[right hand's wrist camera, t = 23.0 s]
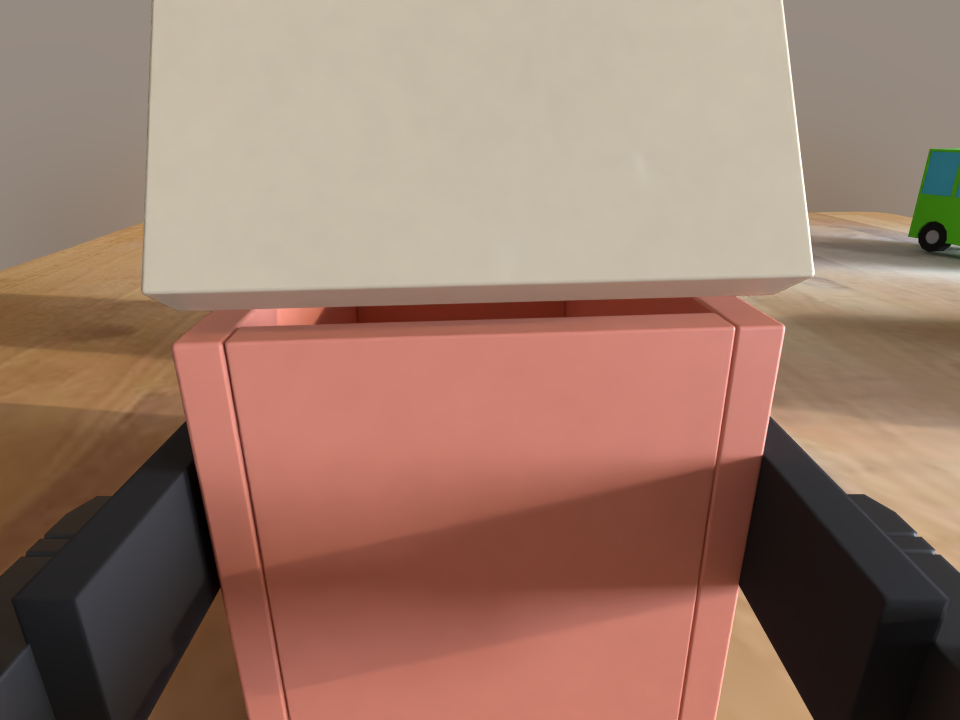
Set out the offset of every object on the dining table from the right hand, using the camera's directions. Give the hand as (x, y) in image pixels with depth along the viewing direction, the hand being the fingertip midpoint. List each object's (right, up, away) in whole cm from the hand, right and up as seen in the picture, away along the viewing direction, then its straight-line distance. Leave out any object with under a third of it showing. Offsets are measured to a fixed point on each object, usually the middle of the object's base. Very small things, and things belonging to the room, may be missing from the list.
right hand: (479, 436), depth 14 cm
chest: (0, -4, +5) cm, 7 cm away
